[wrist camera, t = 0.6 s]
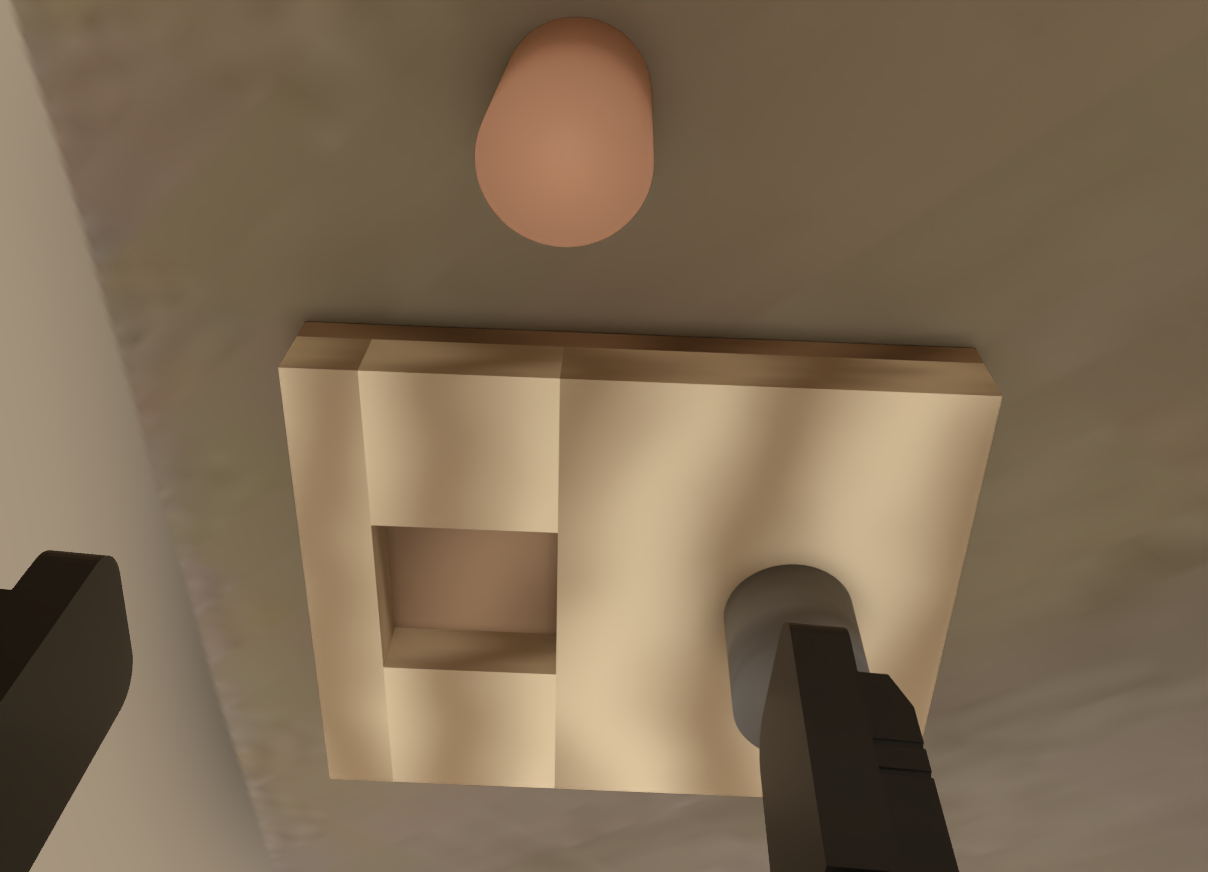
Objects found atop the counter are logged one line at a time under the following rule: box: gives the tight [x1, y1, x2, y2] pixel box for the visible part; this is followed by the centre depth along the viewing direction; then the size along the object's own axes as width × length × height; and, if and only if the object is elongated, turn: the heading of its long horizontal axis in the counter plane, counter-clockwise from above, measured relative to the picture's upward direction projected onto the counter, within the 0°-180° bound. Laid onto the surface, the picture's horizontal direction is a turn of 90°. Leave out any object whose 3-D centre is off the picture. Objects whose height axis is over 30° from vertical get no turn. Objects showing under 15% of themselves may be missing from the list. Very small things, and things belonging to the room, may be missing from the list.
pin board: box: [278, 322, 1002, 797], centre depth 36 cm, size 20×16×7 cm
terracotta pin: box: [475, 17, 654, 247], centre depth 28 cm, size 4×4×6 cm
